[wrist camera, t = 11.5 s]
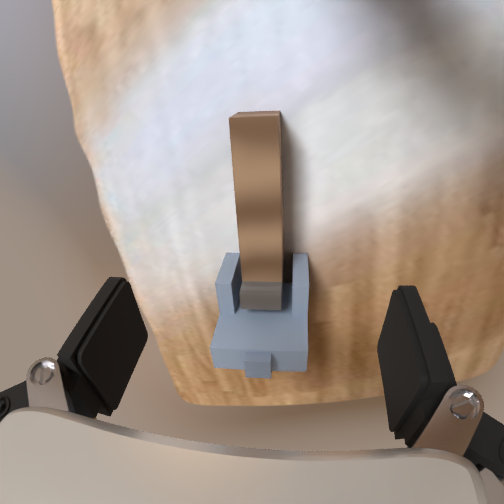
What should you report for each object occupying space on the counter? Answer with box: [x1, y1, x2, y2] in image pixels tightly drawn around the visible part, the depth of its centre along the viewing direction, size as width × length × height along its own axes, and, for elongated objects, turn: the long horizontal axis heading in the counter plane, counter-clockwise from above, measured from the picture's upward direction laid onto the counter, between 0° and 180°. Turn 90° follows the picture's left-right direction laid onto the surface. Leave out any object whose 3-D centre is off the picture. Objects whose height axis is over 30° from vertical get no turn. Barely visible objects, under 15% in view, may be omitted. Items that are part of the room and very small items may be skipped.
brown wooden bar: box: [229, 111, 284, 310], centre depth 30 cm, size 18×4×7 cm, turn 3°
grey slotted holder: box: [210, 253, 309, 378], centre depth 33 cm, size 7×9×12 cm
